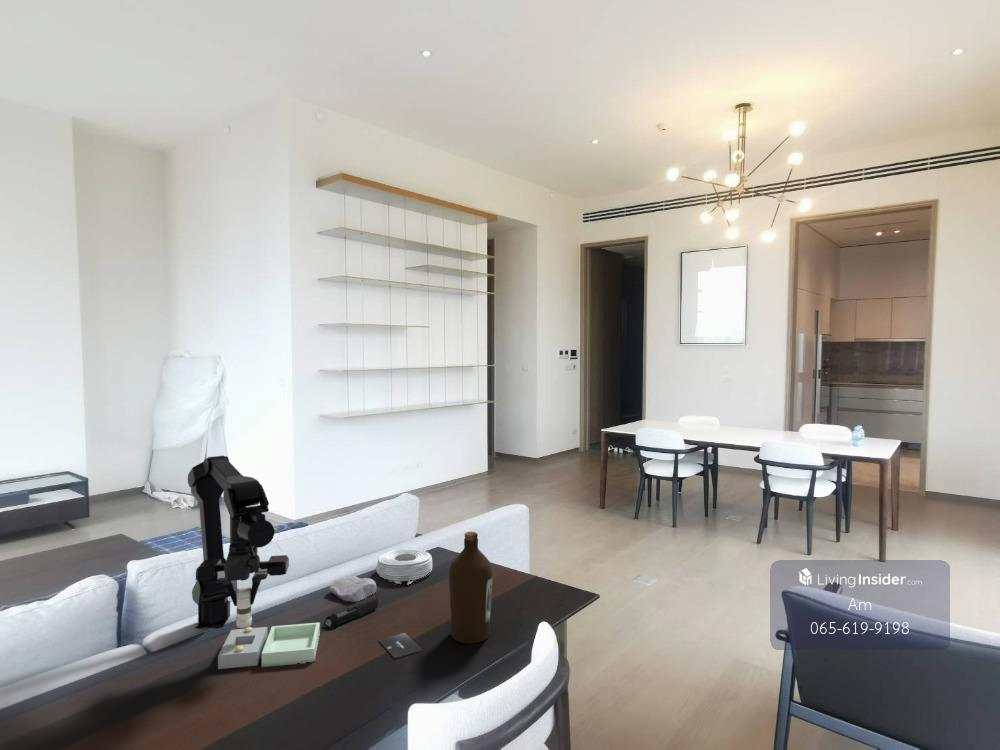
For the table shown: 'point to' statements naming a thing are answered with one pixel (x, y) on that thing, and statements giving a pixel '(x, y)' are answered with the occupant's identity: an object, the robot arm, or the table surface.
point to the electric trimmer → (350, 613)
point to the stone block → (353, 588)
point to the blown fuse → (243, 607)
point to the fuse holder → (243, 647)
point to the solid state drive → (400, 645)
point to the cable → (404, 565)
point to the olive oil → (470, 593)
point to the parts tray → (291, 644)
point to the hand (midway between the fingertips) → (244, 604)
